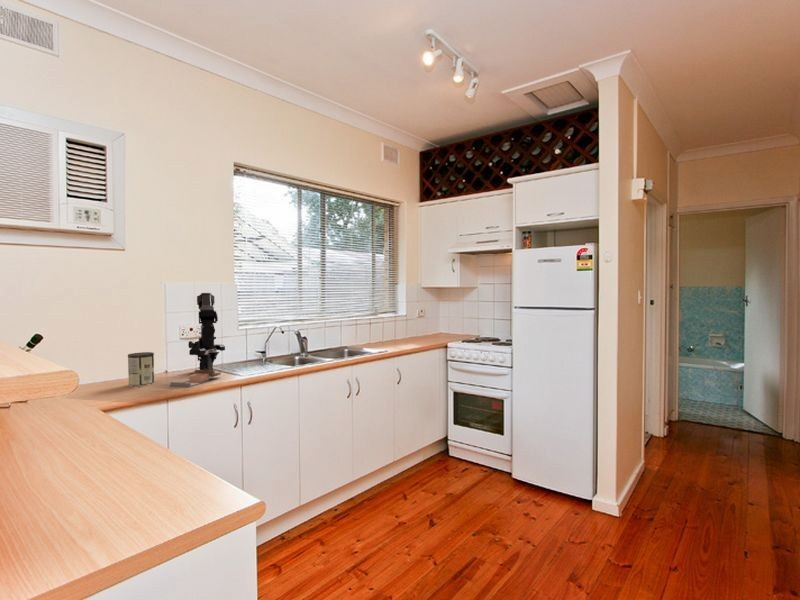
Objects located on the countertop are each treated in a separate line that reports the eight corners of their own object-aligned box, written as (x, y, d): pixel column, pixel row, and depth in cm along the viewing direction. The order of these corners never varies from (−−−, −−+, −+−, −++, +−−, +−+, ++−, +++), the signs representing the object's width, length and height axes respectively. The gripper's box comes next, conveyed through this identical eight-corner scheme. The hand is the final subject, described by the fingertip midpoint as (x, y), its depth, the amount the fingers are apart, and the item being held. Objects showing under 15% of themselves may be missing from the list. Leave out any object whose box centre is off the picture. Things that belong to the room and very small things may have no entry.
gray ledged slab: (204, 377, 219) (203, 373, 219) (221, 378, 217) (221, 374, 217) (170, 386, 198) (170, 382, 198) (189, 387, 196) (189, 383, 195)
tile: (198, 379, 212) (198, 373, 212) (209, 379, 211) (209, 373, 211) (189, 381, 207) (189, 375, 207) (200, 382, 205) (200, 375, 205)
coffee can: (138, 382, 208) (138, 352, 208) (159, 382, 207) (159, 352, 207) (122, 387, 198) (122, 355, 198) (144, 387, 197) (143, 355, 197)
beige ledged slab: (203, 373, 218) (202, 357, 218) (220, 374, 216) (220, 357, 216) (194, 376, 213) (194, 359, 213) (213, 376, 210) (212, 360, 210)
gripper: (206, 333, 225) (206, 363, 226) (179, 336, 207) (179, 370, 208) (225, 333, 223) (225, 364, 223) (199, 337, 204) (200, 371, 205)
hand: (208, 367), depth 215 cm, fingers closed on beige ledged slab, 2 cm apart
